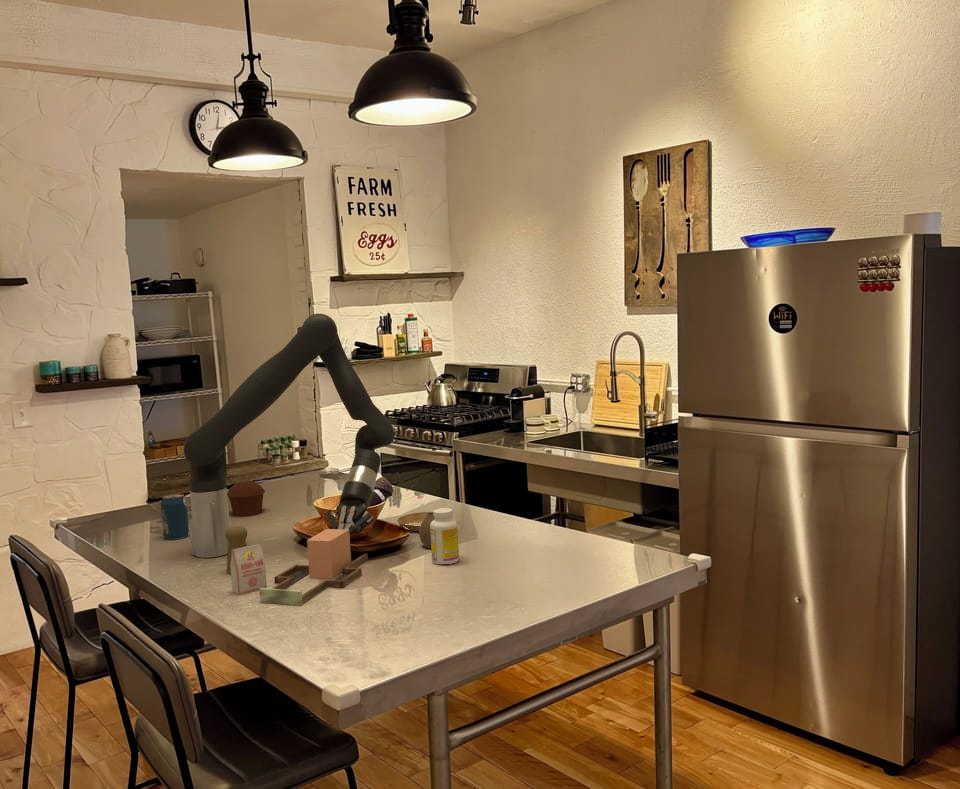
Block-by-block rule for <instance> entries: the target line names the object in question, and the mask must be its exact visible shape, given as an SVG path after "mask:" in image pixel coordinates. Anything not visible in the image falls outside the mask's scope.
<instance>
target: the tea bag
mask: <svg viewBox="0 0 960 789" xmlns="http://www.w3.org/2000/svg"><path fill="white" fill-rule="evenodd" d="M262 549H263V548H262V544H261V543H258V544H253V545H248V546H247V547H243V548H238V549H233V550H232V555H231V564H230V568H231V574H230V578H231V591H232V592H233V593H235V594H236V595H237V596H239V595H244V594H247V592H248V593H251V591H252V592H255V590H256V591H259V589H260V588H268V586H267V585H268V584H267V574H266V573H267V572H266V562H265V558H264V553H263V550H262ZM243 593H244V594H243Z"/></svg>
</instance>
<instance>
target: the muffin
mask: <svg viewBox="0 0 960 789" xmlns="http://www.w3.org/2000/svg"><path fill="white" fill-rule="evenodd" d="M265 492H266V491H265V489H264V488H263V487H262V485H260V483H258V482H256V481H253V480H252V481H251V480H242V481H239V482H236V483H234V484H233V485H232V486H231V487H230V488H229V489H228V490H227V498H228V499H229V502H230V503H229V504H230V507H231V510H232V511H231V512H232V514H233V516H234V517H238V518H243V517H252V516H257V515H259V514H262V513H263V502H264V500H263V499H264V494H265Z"/></svg>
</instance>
